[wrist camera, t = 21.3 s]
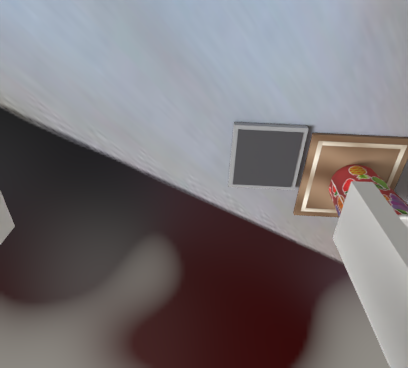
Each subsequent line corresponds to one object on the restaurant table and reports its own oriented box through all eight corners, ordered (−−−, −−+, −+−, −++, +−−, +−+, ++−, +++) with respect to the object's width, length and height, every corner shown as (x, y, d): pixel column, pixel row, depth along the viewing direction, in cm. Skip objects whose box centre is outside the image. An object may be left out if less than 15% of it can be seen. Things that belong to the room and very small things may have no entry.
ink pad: (233, 122, 43) (234, 125, 42) (306, 125, 43) (308, 129, 42) (228, 183, 49) (228, 187, 48) (292, 186, 49) (294, 190, 48)
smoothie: (313, 199, 49) (363, 313, 33) (331, 152, 45) (401, 256, 28) (365, 206, 50) (442, 322, 33) (388, 159, 45) (491, 266, 28)
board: (312, 132, 44) (313, 134, 43) (413, 137, 44) (416, 139, 43) (293, 212, 52) (294, 215, 51) (379, 216, 51) (381, 219, 51)
